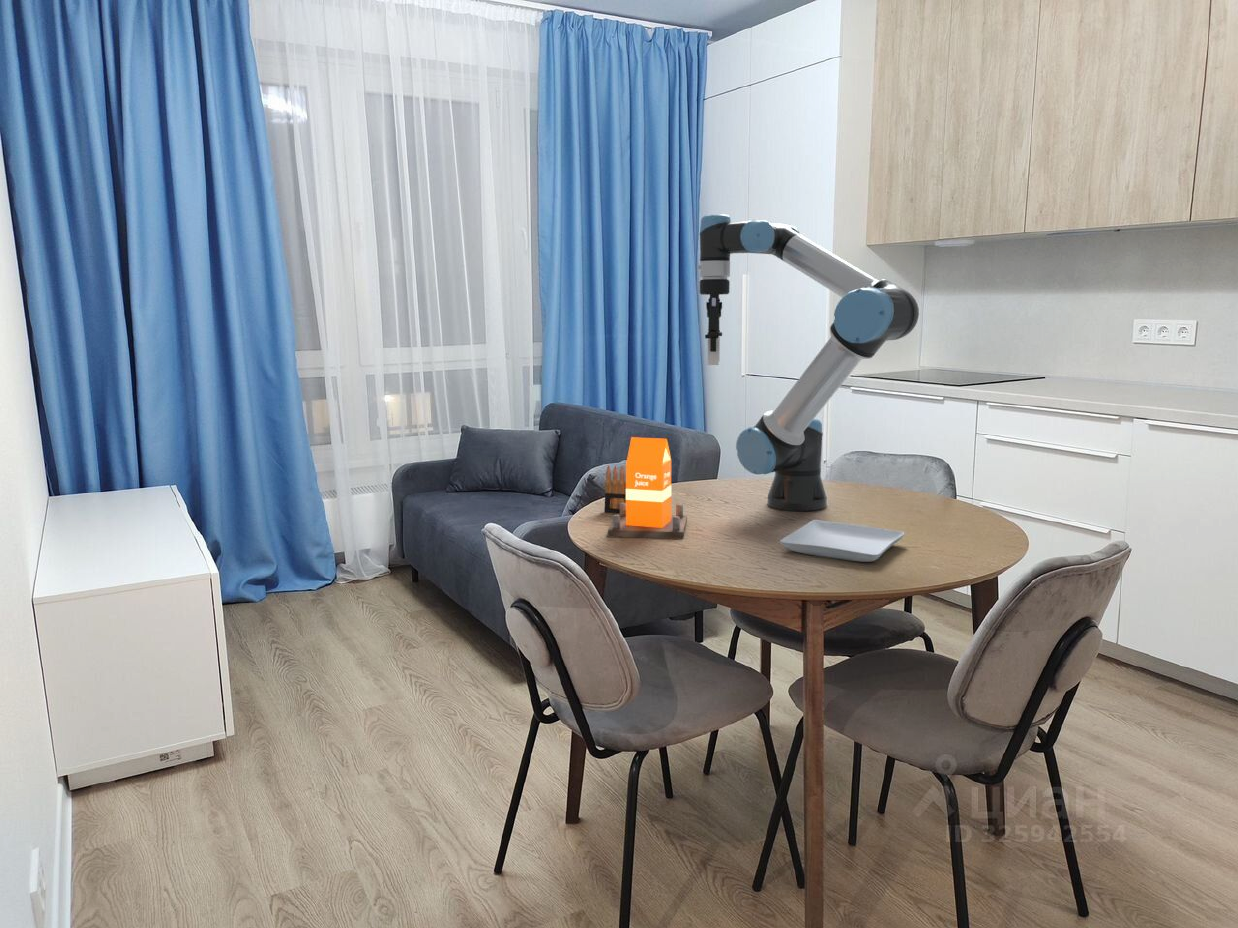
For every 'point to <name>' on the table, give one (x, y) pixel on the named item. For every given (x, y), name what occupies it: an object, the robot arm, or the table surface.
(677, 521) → the peg stand
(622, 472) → the ammunition clip
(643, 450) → the orange juice
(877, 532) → the salad plate
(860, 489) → the table surface
